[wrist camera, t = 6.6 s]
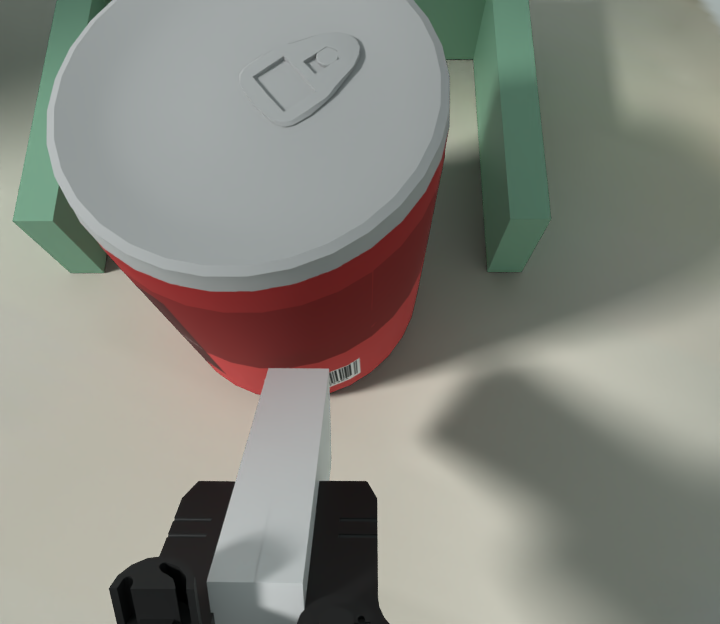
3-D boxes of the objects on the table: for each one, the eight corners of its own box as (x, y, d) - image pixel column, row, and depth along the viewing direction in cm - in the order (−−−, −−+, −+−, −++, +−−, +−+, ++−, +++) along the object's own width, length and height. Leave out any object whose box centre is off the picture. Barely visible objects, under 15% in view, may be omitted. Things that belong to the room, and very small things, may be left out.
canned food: (459, 270, 23) (531, 48, 13) (320, 454, 21) (271, 370, 11) (289, 159, 25) (231, -118, 14) (145, 320, 23) (-45, 134, 12)
